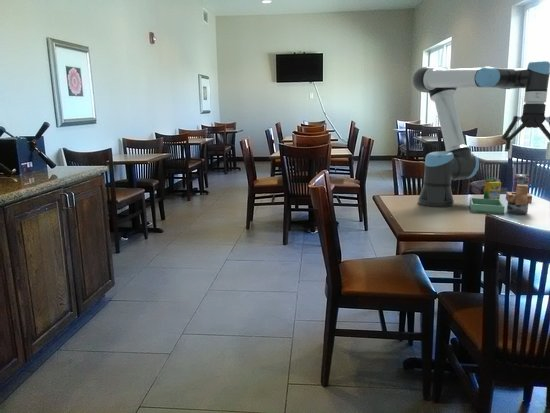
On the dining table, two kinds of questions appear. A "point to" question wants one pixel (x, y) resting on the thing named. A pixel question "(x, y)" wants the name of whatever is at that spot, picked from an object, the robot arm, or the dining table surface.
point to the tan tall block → (519, 195)
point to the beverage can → (525, 182)
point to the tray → (486, 205)
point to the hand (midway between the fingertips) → (528, 158)
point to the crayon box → (492, 189)
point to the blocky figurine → (512, 206)
